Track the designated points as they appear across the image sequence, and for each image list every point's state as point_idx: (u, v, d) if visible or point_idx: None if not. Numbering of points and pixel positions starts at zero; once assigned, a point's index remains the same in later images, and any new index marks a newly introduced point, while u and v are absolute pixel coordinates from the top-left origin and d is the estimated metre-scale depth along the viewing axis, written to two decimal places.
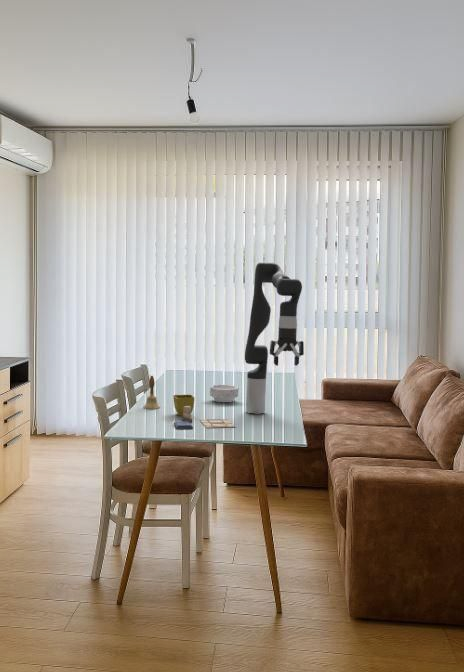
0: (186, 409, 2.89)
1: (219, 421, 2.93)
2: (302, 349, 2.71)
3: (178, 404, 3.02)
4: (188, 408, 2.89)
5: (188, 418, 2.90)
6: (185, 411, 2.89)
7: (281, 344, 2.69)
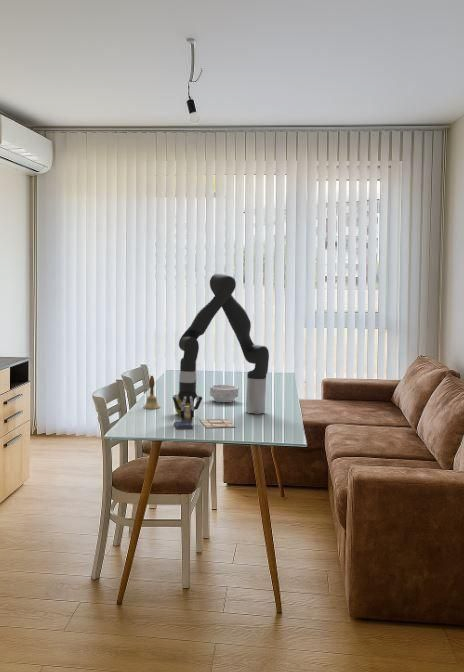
0: (186, 409, 2.89)
1: (219, 421, 2.93)
2: (198, 404, 2.91)
3: (178, 404, 3.02)
4: (188, 408, 2.89)
5: (188, 418, 2.90)
6: (185, 411, 2.89)
7: (181, 398, 2.89)
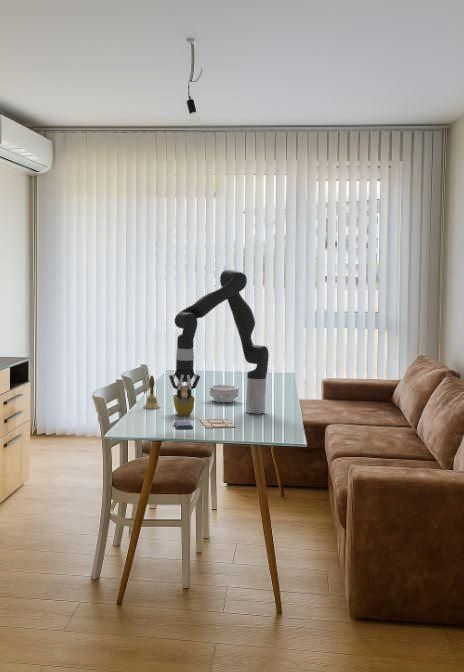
0: (183, 388, 2.79)
1: (219, 421, 2.93)
2: (196, 383, 2.80)
3: (178, 404, 3.02)
4: (185, 387, 2.79)
5: (185, 397, 2.80)
6: (182, 390, 2.79)
7: (178, 377, 2.79)
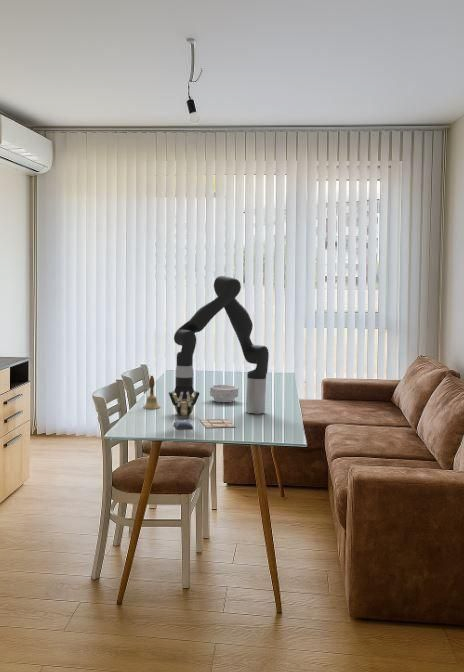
0: (183, 405, 2.80)
1: (219, 421, 2.93)
2: (195, 399, 2.81)
3: None
4: (185, 404, 2.80)
5: (185, 414, 2.80)
6: (182, 407, 2.80)
7: (178, 394, 2.79)
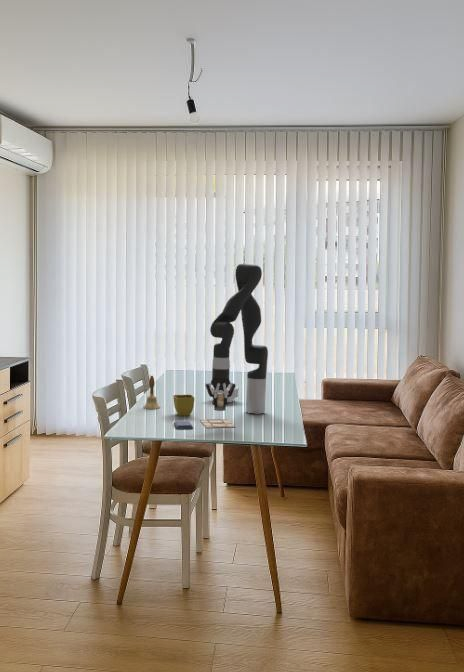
0: (220, 396, 2.83)
1: (219, 421, 2.93)
2: (231, 391, 2.84)
3: (178, 404, 3.02)
4: (222, 396, 2.83)
5: (221, 405, 2.83)
6: (218, 398, 2.83)
7: (215, 385, 2.82)
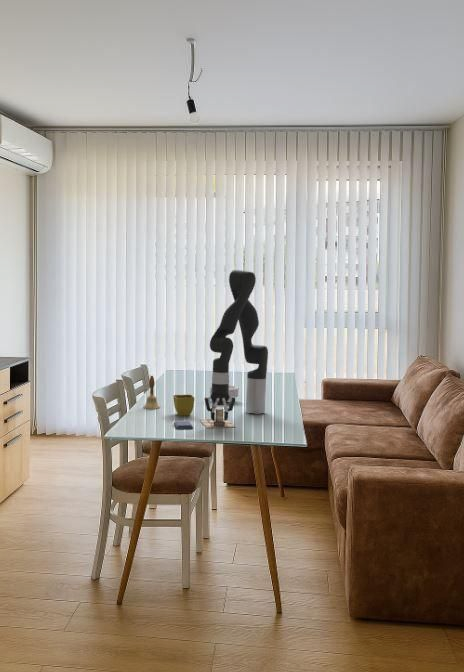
0: (219, 412, 2.83)
1: None
2: (232, 405, 2.85)
3: (178, 404, 3.02)
4: (221, 411, 2.84)
5: (221, 421, 2.84)
6: (218, 414, 2.84)
7: (214, 400, 2.83)
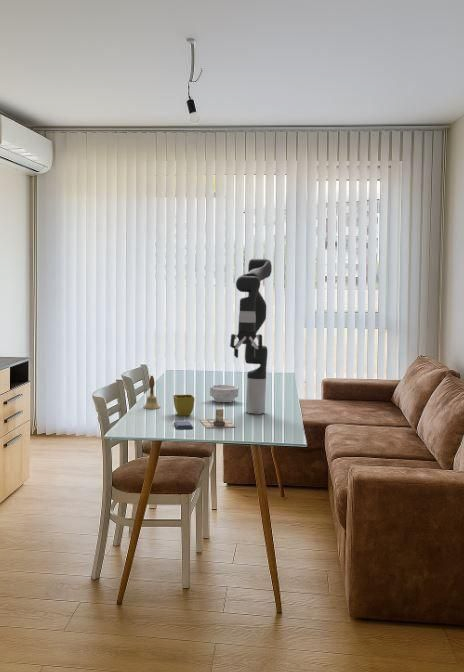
0: (219, 412, 2.83)
1: None
2: (261, 342, 2.89)
3: (178, 404, 3.02)
4: (221, 411, 2.84)
5: (221, 421, 2.84)
6: (218, 414, 2.84)
7: (241, 337, 2.86)
